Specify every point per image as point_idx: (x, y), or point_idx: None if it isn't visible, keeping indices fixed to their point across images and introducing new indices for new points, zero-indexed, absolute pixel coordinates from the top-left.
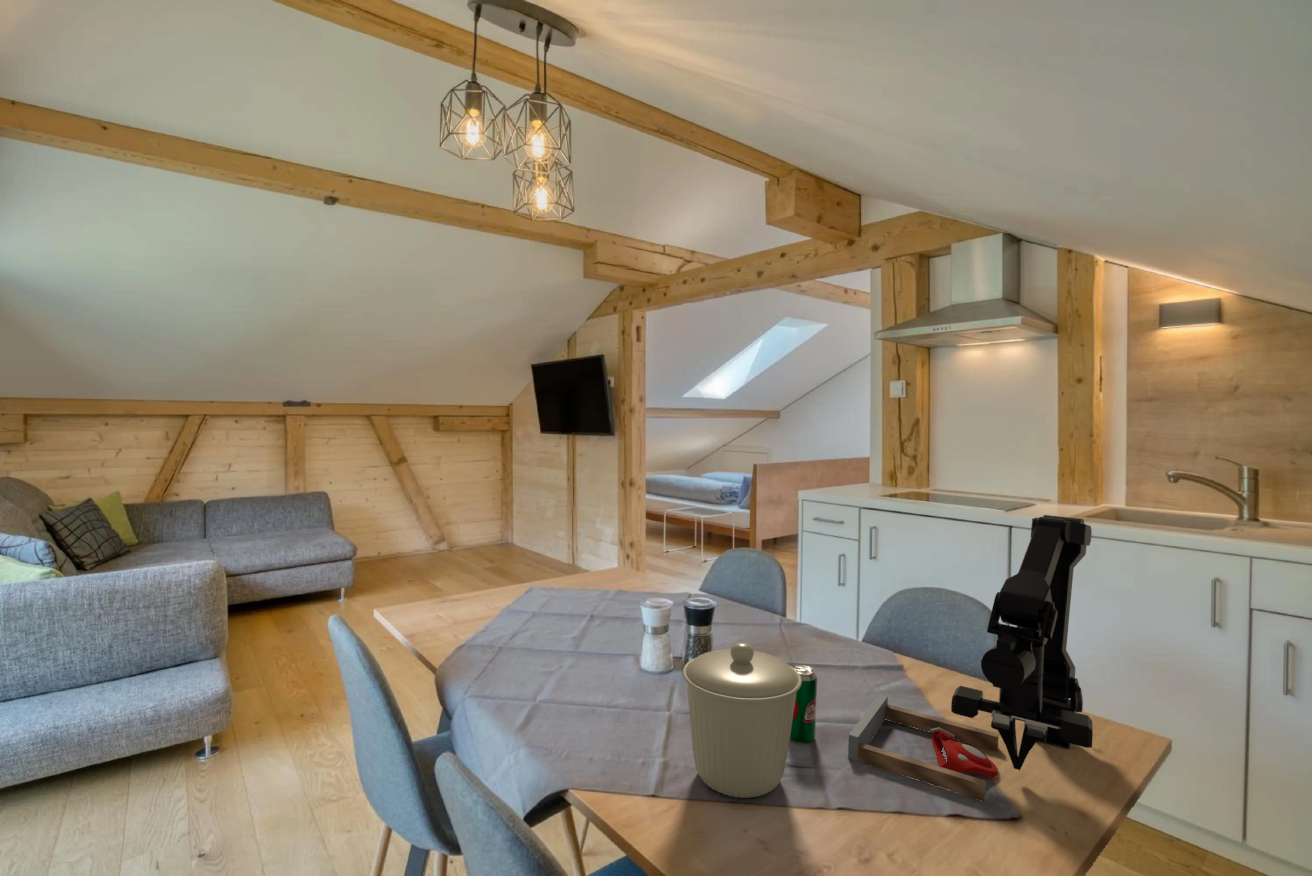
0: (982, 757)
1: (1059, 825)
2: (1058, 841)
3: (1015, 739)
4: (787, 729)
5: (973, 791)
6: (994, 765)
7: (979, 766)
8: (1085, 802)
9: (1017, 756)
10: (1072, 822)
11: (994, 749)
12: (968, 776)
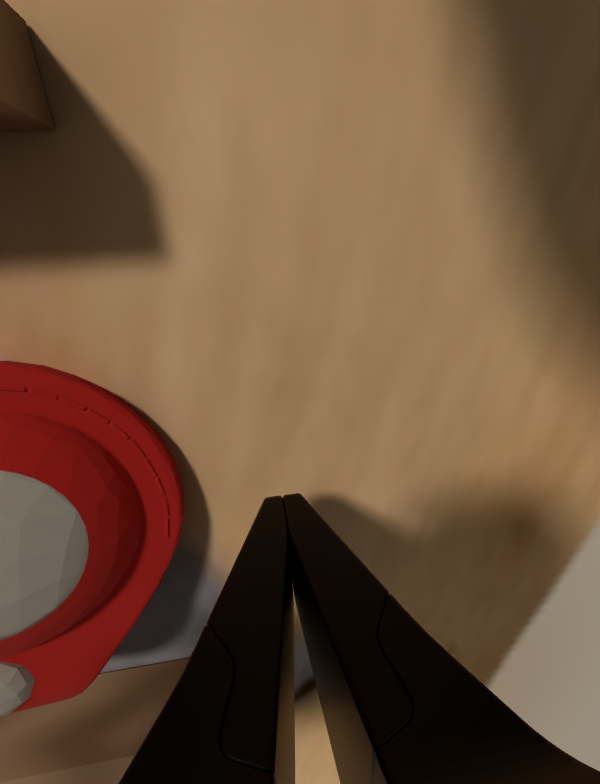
0: (71, 574)
1: (436, 631)
2: None
3: (286, 754)
4: None
5: None
6: (144, 455)
7: (104, 635)
8: (554, 441)
9: (289, 564)
10: (477, 594)
11: (25, 125)
12: (114, 765)
